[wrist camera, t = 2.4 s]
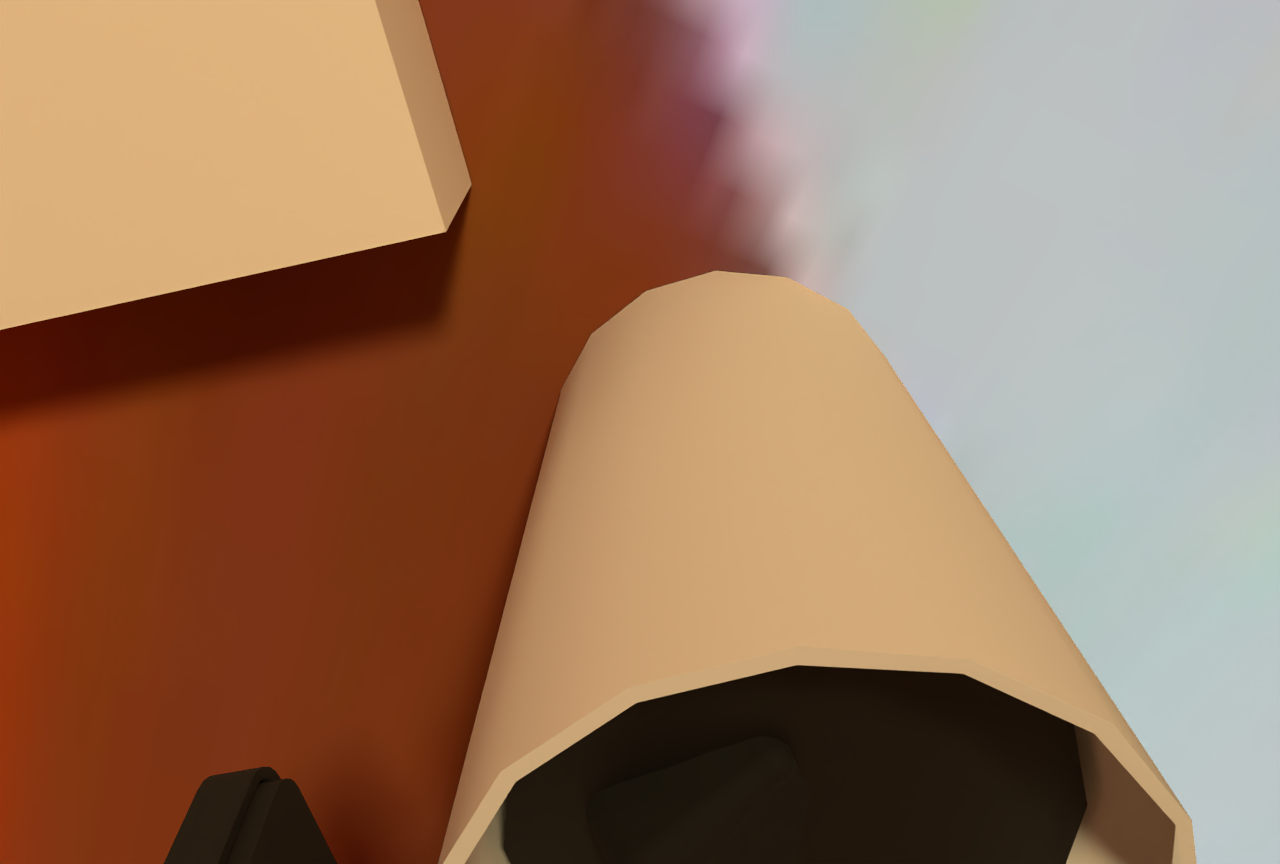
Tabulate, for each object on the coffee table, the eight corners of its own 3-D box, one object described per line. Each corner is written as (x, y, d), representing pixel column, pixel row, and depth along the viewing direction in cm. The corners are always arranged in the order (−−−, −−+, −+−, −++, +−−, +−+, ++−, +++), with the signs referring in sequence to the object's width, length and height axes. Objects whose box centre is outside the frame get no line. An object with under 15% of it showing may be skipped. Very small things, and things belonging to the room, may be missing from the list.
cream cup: (645, 651, 21) (653, 1248, 12) (452, 361, 18) (267, 841, 9) (984, 505, 19) (1291, 1055, 10) (829, 165, 16) (1057, 503, 8)
